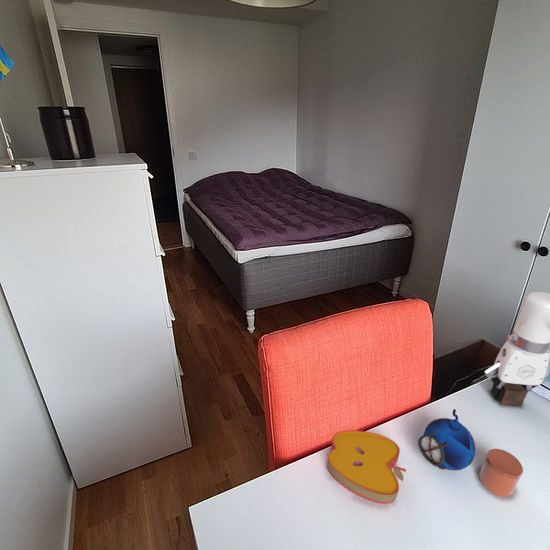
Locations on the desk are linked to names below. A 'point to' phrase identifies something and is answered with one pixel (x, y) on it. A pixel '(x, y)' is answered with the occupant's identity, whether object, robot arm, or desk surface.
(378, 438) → the decorative object
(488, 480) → the terracotta pot
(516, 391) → the walnut block
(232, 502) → the desk surface
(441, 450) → the bomb
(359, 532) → the desk surface
